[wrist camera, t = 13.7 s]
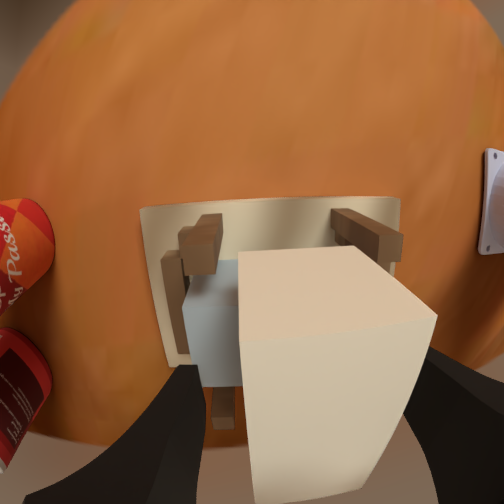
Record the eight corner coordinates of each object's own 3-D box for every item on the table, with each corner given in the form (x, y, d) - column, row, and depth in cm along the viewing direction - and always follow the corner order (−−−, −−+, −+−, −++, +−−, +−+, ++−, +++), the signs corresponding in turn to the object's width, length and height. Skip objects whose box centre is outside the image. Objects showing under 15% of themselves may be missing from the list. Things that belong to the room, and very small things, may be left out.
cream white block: (332, 405, 12) (361, 488, 7) (249, 414, 12) (255, 505, 7) (353, 245, 10) (437, 315, 5) (237, 251, 9) (239, 341, 5)
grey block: (348, 253, 15) (391, 292, 10) (342, 317, 16) (374, 369, 11) (198, 261, 15) (182, 307, 10) (206, 326, 16) (196, 386, 11)
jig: (392, 196, 15) (465, 220, 9) (374, 341, 18) (415, 403, 12) (145, 206, 15) (89, 237, 9) (172, 357, 18) (151, 432, 12)
